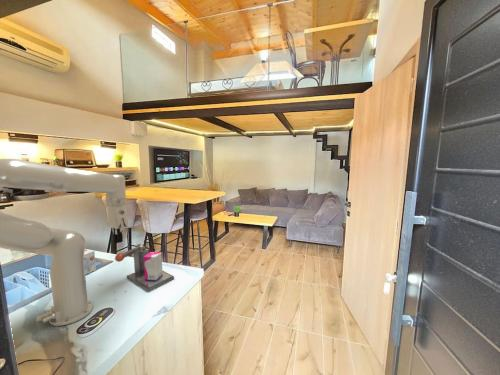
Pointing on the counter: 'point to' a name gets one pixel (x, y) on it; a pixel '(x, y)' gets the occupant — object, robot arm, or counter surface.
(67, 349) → the counter surface
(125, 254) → the press lever
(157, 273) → the supplement box
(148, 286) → the press bed
